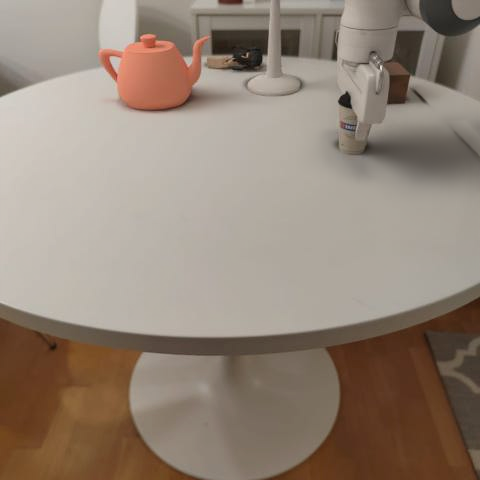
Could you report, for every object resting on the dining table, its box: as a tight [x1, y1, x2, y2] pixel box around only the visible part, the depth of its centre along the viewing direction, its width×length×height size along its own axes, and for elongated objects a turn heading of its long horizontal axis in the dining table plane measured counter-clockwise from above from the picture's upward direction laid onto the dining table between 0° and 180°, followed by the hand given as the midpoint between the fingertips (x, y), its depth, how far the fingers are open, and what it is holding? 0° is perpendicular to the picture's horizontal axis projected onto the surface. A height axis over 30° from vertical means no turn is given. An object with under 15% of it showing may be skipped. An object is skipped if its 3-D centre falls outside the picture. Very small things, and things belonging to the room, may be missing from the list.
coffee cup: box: [337, 91, 373, 155], centre depth 81 cm, size 7×7×10 cm
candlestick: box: [247, 0, 301, 97], centre depth 101 cm, size 13×13×30 cm
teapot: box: [98, 33, 211, 111], centre depth 102 cm, size 25×17×13 cm
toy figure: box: [206, 44, 264, 72], centre depth 121 cm, size 7×6×15 cm
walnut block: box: [383, 61, 412, 105], centre depth 102 cm, size 9×9×6 cm
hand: (354, 129), depth 82 cm, fingers closed on coffee cup, 7 cm apart
